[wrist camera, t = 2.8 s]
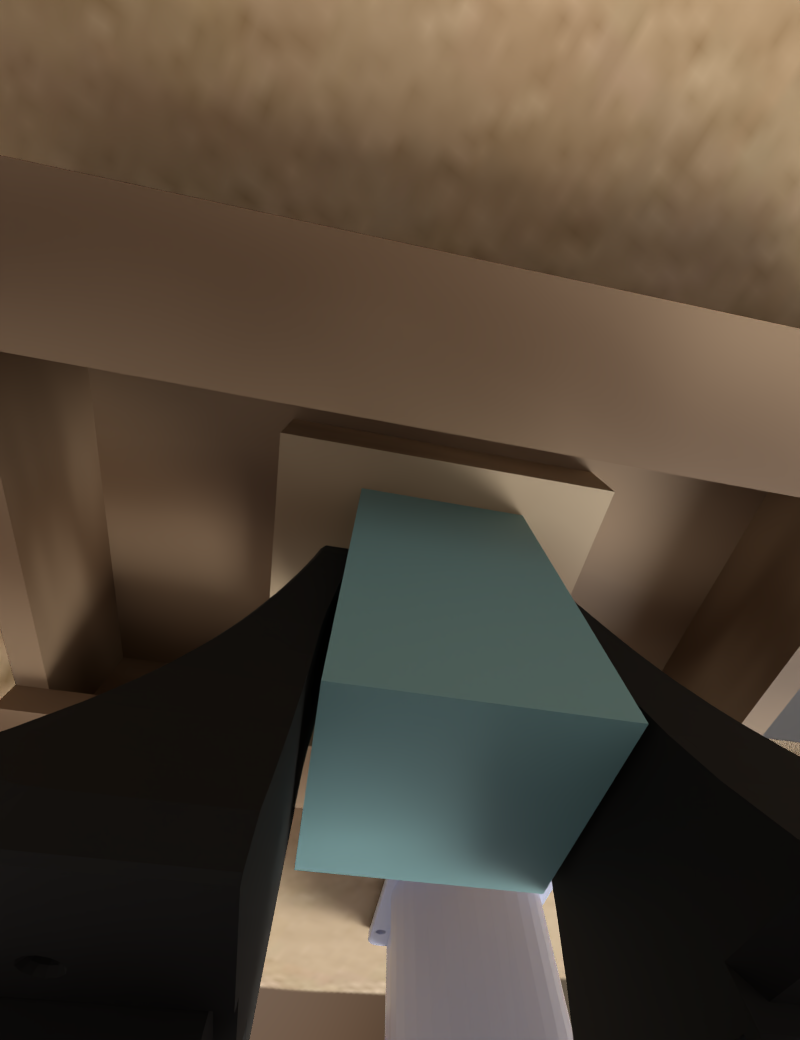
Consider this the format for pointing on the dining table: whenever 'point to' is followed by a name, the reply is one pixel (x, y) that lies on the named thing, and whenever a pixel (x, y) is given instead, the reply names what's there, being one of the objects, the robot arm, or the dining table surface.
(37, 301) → the crate
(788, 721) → the mat
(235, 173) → the dining table surface
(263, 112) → the dining table surface
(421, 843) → the block
